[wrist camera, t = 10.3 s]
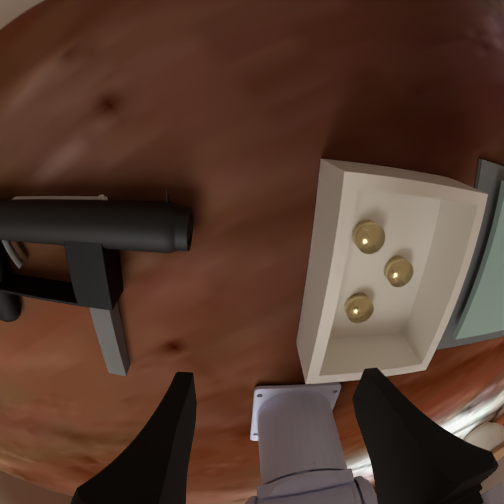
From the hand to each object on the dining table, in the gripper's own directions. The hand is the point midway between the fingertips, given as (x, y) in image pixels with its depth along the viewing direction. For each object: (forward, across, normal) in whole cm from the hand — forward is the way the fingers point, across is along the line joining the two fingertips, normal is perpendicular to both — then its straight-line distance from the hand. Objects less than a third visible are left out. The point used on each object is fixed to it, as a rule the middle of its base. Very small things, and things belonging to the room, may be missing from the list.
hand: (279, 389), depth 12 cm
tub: (+10, -8, -1) cm, 13 cm away
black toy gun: (+10, +15, +1) cm, 18 cm away
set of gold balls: (+10, -8, -1) cm, 13 cm away
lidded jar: (+10, -43, +34) cm, 56 cm away
